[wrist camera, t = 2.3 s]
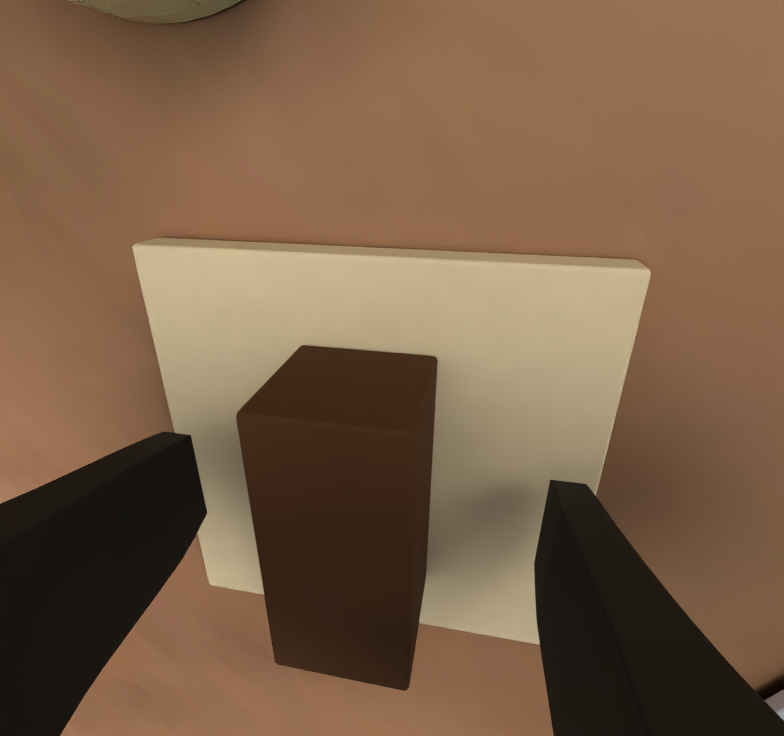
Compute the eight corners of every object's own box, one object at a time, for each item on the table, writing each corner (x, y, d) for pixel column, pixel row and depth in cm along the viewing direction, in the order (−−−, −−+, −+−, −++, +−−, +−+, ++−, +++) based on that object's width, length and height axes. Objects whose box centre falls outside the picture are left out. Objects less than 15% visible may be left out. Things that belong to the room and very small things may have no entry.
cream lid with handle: (640, 258, 8) (731, 330, 5) (554, 619, 12) (576, 784, 9) (156, 236, 9) (-5, 279, 6) (223, 562, 13) (143, 686, 10)
